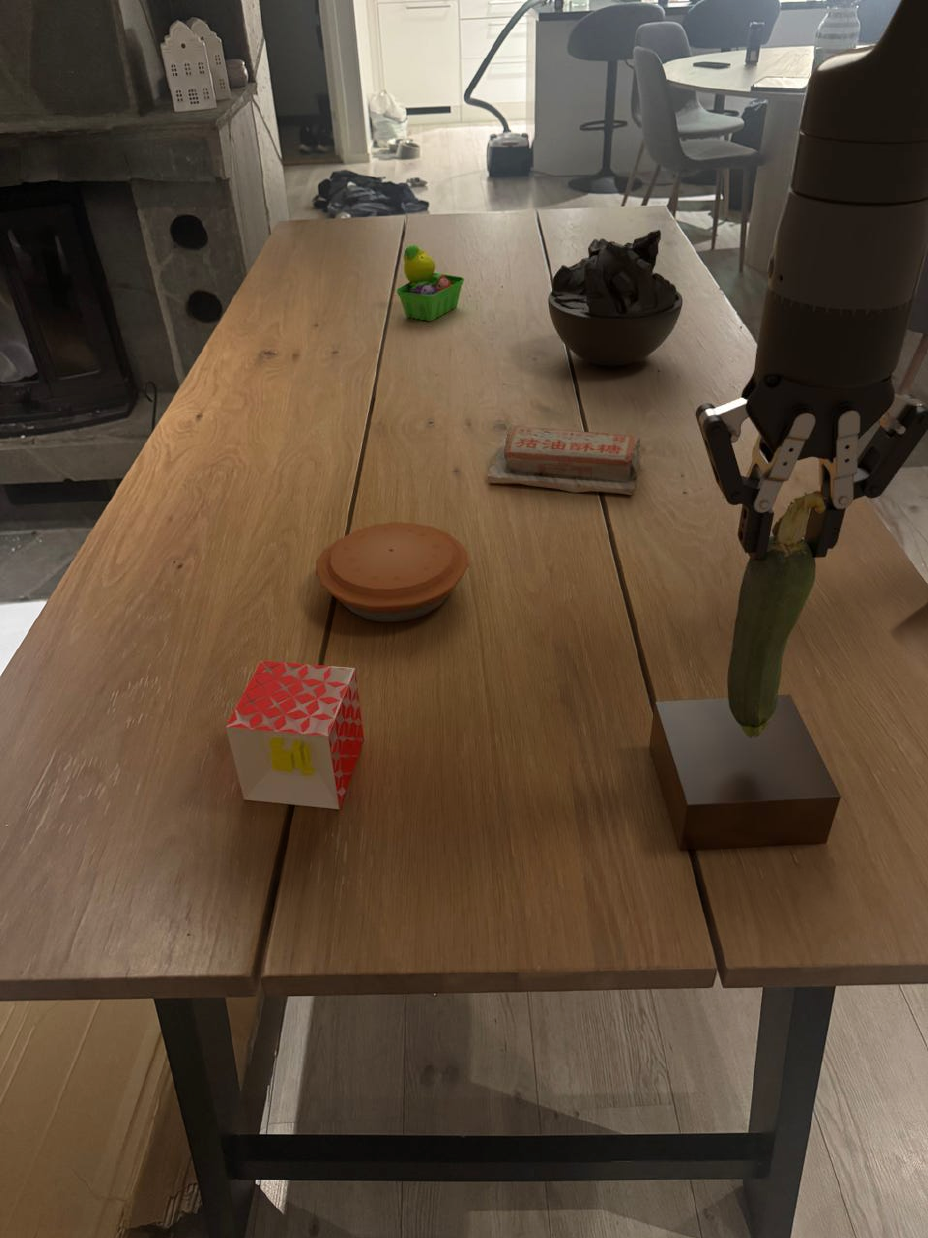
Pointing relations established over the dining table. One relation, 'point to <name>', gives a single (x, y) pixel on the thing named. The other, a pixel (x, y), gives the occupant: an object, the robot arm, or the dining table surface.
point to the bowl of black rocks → (614, 302)
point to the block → (740, 777)
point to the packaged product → (568, 460)
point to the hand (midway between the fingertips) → (784, 551)
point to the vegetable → (770, 616)
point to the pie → (392, 570)
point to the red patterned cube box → (297, 734)
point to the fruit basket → (427, 287)
